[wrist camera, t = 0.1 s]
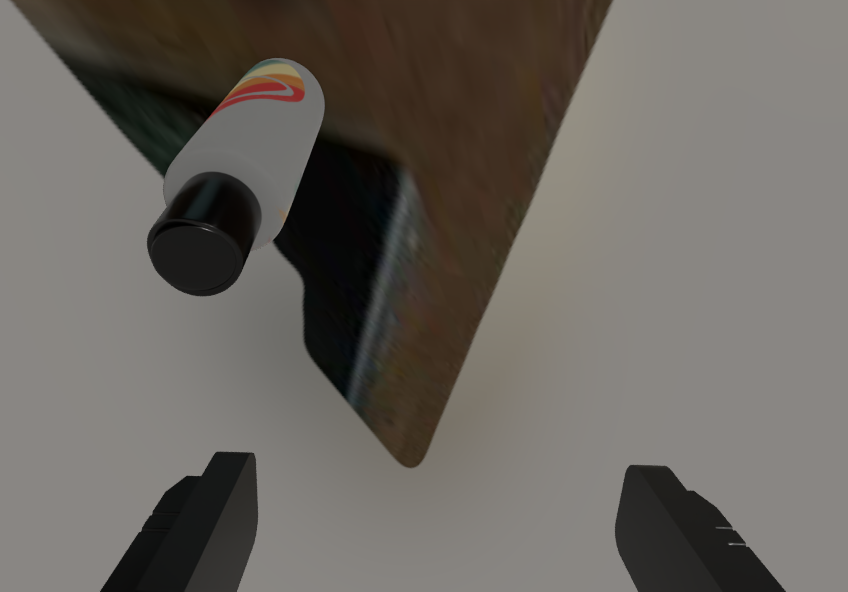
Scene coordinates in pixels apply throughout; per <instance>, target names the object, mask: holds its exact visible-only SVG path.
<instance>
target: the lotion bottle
mask: <svg viewBox="0 0 848 592" xmlns="http://www.w3.org/2000/svg"><path fill="white" fill-rule="evenodd" d="M324 108H325V103H324V96H323V93H322V90H321V87H320V85H319V83H318V82H317V80H316V79H315V77H314V76H313V75H312V74H311V73H310V72H309V71H308V70H307V69H306V68H305V67H303V66H302V65H300V64H298V63H296V62H294V61H291V60H288V59H283V58H273V59H267V60H264V61H262V62H260V63H258V64H256V65H255V66H254V67H252V68H251V69H250V70H249V71H248V72H247V73H246V74H245V75H244V77H243V78H242V79H241V80H240V81H239V82H238V84H237V85H236V86H235V87H234V88H233V90H232V91H231V92H230V93H229V94H228V96H227V97H226V98H225V99H224V100H223V101H222V103H221V104H220V105H219V106H218V107H217V109H216V110H215V111H214V112H213V113H212V114H211V116H210V117H209V118H208V119H207V120H206V122H205V123H204V124H203V125H202V126H201V128H200V129H199V130H198V131H197V132H196V133H195V135H194V136H193V137H192V138H191V139H190V141H189V142H188V143H187V144H186V145H185V147H184V148H183V149H182V150H181V152H180V153H179V154H178V155H177V157H176V158H175V159H174V160H173V162H172V163H171V165H170V166H169V168H168V170H167V173H166V176H165V179H164V185H163V186H164V187H163V188H164V189H163V192H164V198H165V202H166V206H167V208H166V209H165V211H164V212H163V213H162V215H161V216H160V217H159V219H158V220H157V221H156V223H155V224H154V225H153V227H152V228H151V230H150V232H149V234H148V238H147V248H148V252H149V256H150V259H151V261H152V263H153V266H154V268H155V269H156V271H157V272H158V274H159V275H160V276H161V277H162V278H163V279H164V280H166V281H167V282H168V283H169V284H170V285H171V286H173V287H174V288H176V289H178V290H179V291H182V292H184V293H187V294H190V295H195V296H211V295H215V294H218V293H221V292H223V291H225V290H226V289H228V288H229V287H230V286H231V285H233V284H234V283H235V281H236V280H237V279H238V277H239V276H240V274H241V272H242V269H243V267H244V265H245V262H246V260H247V258H248V255H249V253H250V251H253V250H257V249H259V248H261V247H263V246H265V245H267V244H268V243H269V242H271V241H272V240H273V239H274V238H275V237H276V236H277V234H278V233H279V232H280V230H281V228H282V226H283V224H284V222H285V220H286V217H287V215H288V212H289V210H290V207H291V204H292V202H293V199H294V196H295V194H296V191H297V188H298V185H299V183H300V180H301V177H302V175H303V172H304V169H305V166H306V164H307V161H308V158H309V156H310V153H311V150H312V148H313V145H314V142H315V139H316V137H317V134H318V131H319V129H320V126H321V123H322V119H323V115H324Z"/></svg>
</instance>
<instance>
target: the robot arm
mask: <svg viewBox="0 0 848 592" xmlns="http://www.w3.org/2000/svg"><path fill="white" fill-rule="evenodd" d="M257 524H258V502H257V479H256V459H255V455H254V453H247V452H246V453H245V452H216V453H215V454H214V456H213V457H212V459H211V461H210V462H209V464H208V466H207V468H206V469H205V471H204V473H203V474H202V476H186V477H185V478H183V479H182V480H181V481H179V482H178V483H177V484H175V485H174V486H173V487H171V488H170V489H169V490H168V491H166V492H165V494H164V495H163V497H162V498H161V500H160V501H159V503H158V504H157V506H156V507H155V509H154V510H153V514H152V515H151V516H149V518H148V519H147V521H146V522H145V524H144V526H143V527H142V531H141V532H139V533H138V535H137V536H136V538H135V539H134V541H133V542H132V544H131V545H130V547H129V549H128V550H127V551H126V553H125V554H124V556H123V557H122V559H121V561H120V562H119V564H118V565H117V567H116V568H115V570H114V571H113V573H112V574H111V576H110V577H109V579H108V580H107V582H106V583H105V585H104V586H103V588H102V589H101V591H100V592H237V589H238V587H239V584H240V581H241V578H242V576H243V573H244V570H245V567H246V565H247V562H248V559H249V556H250V553H251V551H252V548H253V545H254V541H255V537H256V531H257ZM615 538H616V543H617V548H618V551H619V554H620V556H621V558H622V560H623V562H624V564H625V566H626V568H627V570H628V572H629V574H630V576H631V578H632V580H633V582H634V584H635V586H636V588H637V590H638V592H786V591H785V590H784V589H783V588H782V586H781V585H780V584H779V583H778V582H777V580H776V579H775V578H774V577H773V576H772V574H771V573H770V572H769V571H768V569H767V568H766V567H765V566H764V565H763V563H762V562H761V561H760V560H759V559H758V557H757V556H756V555H755V554H754V552H753V551H752V550H751V549H750V548H749V547H746V543H745V541H744V540H743V539H742V538H741V537H740V535H739V534H738V533H737V532H736V531H733V529H732V526H731V524H730V523H729V522H728V521H727V520H726V518H725V517H724V516H723V515H722V513H721V512H720V511H719V510H718V509H717V507H715V506H714V505H712V504H711V503H709V502H708V501H707V500H705V499H704V498H703V497H701V496H700V495H699V494H697V493H696V492H695V491H687V490H686V489H685V487H684V486H683V485H682V483H681V482H680V481H679V480H678V478H677V477H676V476H675V474H674V473H673V472H672V471H671V470H670V468H668V467H667V466H652V465H630V466H629V467H628V468H627V470H626V473H625V478H624V483H623V488H622V493H621V498H620V504H619V508H618V513H617V518H616V524H615Z"/></svg>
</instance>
